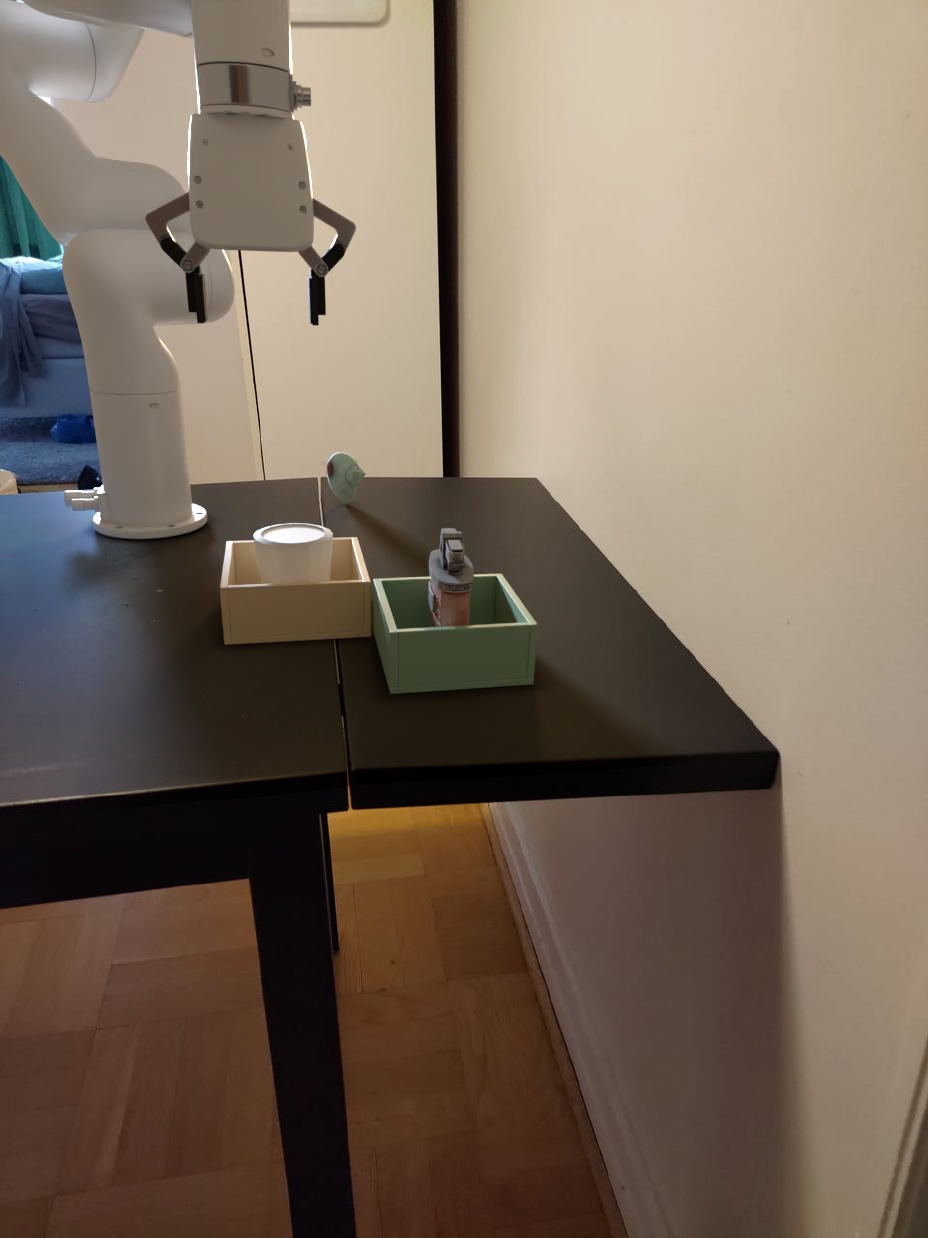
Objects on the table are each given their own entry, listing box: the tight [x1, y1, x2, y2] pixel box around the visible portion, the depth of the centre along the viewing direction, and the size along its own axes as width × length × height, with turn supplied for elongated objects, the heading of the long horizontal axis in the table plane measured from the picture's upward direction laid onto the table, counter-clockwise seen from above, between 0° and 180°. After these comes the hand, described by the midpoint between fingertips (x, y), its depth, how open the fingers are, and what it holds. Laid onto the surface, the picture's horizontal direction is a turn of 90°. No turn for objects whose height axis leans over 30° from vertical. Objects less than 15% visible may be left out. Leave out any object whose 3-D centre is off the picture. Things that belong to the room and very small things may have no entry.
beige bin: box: [219, 536, 372, 646], centre depth 76 cm, size 12×12×5 cm
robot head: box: [325, 451, 367, 504], centre depth 110 cm, size 8×4×7 cm, turn 31°
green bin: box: [372, 573, 539, 695], centre depth 69 cm, size 11×11×5 cm
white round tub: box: [252, 522, 334, 584], centre depth 76 cm, size 7×7×7 cm
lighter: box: [428, 527, 475, 628], centre depth 68 cm, size 8×3×10 cm, turn 7°
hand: (259, 322), depth 75 cm, fingers open, 9 cm apart
